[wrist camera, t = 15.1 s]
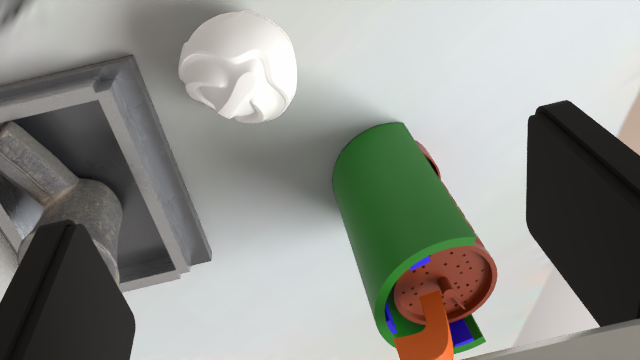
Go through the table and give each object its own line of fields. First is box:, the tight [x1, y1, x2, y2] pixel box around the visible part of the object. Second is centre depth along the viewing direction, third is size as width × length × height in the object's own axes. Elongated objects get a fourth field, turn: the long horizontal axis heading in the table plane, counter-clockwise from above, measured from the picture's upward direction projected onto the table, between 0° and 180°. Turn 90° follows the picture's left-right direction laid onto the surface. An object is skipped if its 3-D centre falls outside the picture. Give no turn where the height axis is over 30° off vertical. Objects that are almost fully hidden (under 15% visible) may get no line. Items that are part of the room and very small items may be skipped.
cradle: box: [0, 55, 212, 293], centre depth 43 cm, size 19×15×3 cm
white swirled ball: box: [178, 10, 297, 123], centre depth 37 cm, size 8×8×8 cm
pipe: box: [0, 121, 123, 286], centre depth 39 cm, size 6×13×8 cm, turn 32°
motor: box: [332, 123, 497, 360], centre depth 39 cm, size 10×9×20 cm
